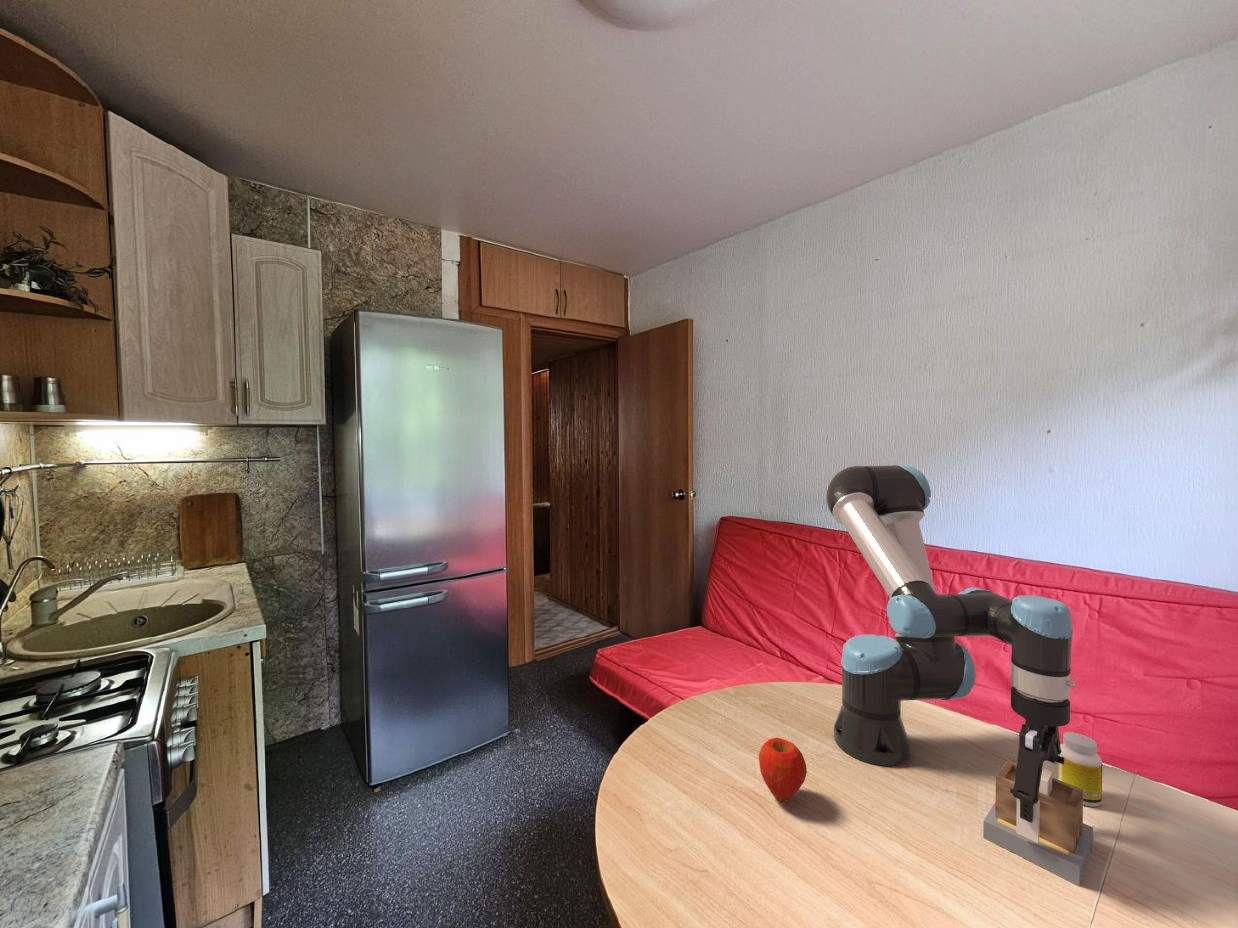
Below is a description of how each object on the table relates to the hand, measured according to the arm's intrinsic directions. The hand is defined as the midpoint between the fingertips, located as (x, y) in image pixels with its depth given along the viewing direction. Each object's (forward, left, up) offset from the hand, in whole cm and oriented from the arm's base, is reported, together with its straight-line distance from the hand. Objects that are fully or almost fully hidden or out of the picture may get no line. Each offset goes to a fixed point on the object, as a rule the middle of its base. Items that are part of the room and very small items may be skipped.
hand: (1037, 816), depth 82 cm
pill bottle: (+2, +20, -4) cm, 20 cm away
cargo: (-1, 0, +5) cm, 5 cm away
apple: (-33, -24, -4) cm, 41 cm away
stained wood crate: (0, 0, -1) cm, 1 cm away
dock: (0, 0, -4) cm, 4 cm away
